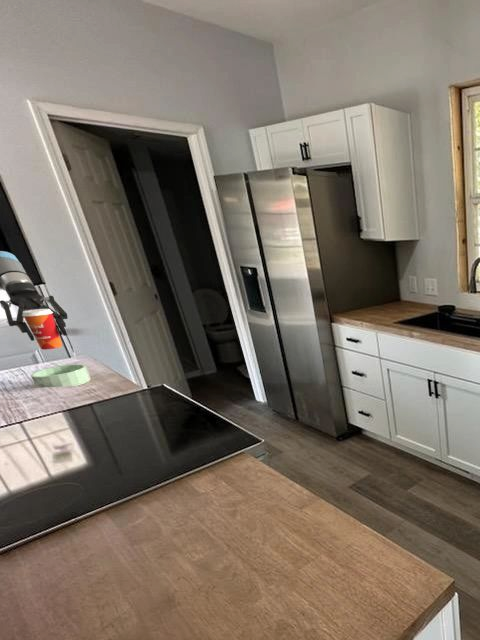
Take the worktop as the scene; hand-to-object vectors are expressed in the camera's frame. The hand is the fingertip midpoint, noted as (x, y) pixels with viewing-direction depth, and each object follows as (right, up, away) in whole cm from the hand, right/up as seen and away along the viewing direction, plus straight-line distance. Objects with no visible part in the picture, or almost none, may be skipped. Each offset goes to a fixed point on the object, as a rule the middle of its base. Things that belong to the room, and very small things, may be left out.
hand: (49, 335), depth 151 cm
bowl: (0, -18, +6) cm, 19 cm away
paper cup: (-3, -4, +4) cm, 6 cm away
